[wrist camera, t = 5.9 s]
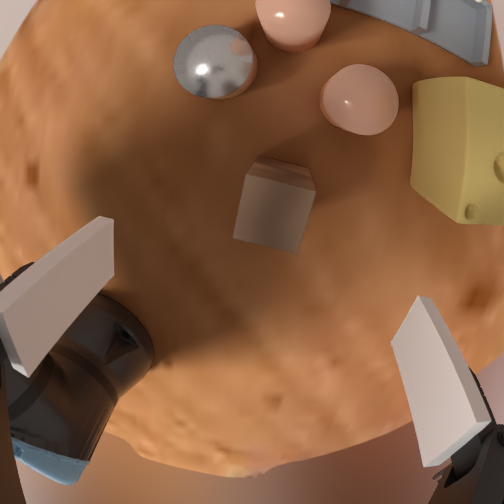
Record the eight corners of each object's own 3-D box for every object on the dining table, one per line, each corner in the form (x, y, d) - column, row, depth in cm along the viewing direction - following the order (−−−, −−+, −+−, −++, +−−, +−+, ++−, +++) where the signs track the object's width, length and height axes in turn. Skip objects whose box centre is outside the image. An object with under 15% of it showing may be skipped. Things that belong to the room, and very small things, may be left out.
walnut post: (248, 202, 28) (232, 238, 21) (258, 155, 26) (246, 174, 19) (295, 215, 28) (297, 254, 21) (308, 168, 26) (316, 191, 18)
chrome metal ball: (183, 94, 24) (166, 92, 20) (197, 33, 21) (182, 22, 18) (249, 104, 24) (242, 103, 20) (264, 41, 21) (259, 30, 17)
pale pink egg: (257, 45, 21) (248, 27, 16) (269, -2, 19) (263, -29, 14) (315, 58, 21) (323, 43, 16) (327, 10, 19) (336, -15, 14)
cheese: (488, 196, 24) (546, 235, 15) (401, 188, 25) (449, 229, 16) (495, 98, 19) (561, 106, 10) (404, 77, 21) (460, 66, 12)
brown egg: (312, 120, 24) (319, 122, 18) (326, 66, 21) (336, 54, 16) (367, 137, 24) (388, 145, 18) (381, 85, 21) (405, 79, 16)
